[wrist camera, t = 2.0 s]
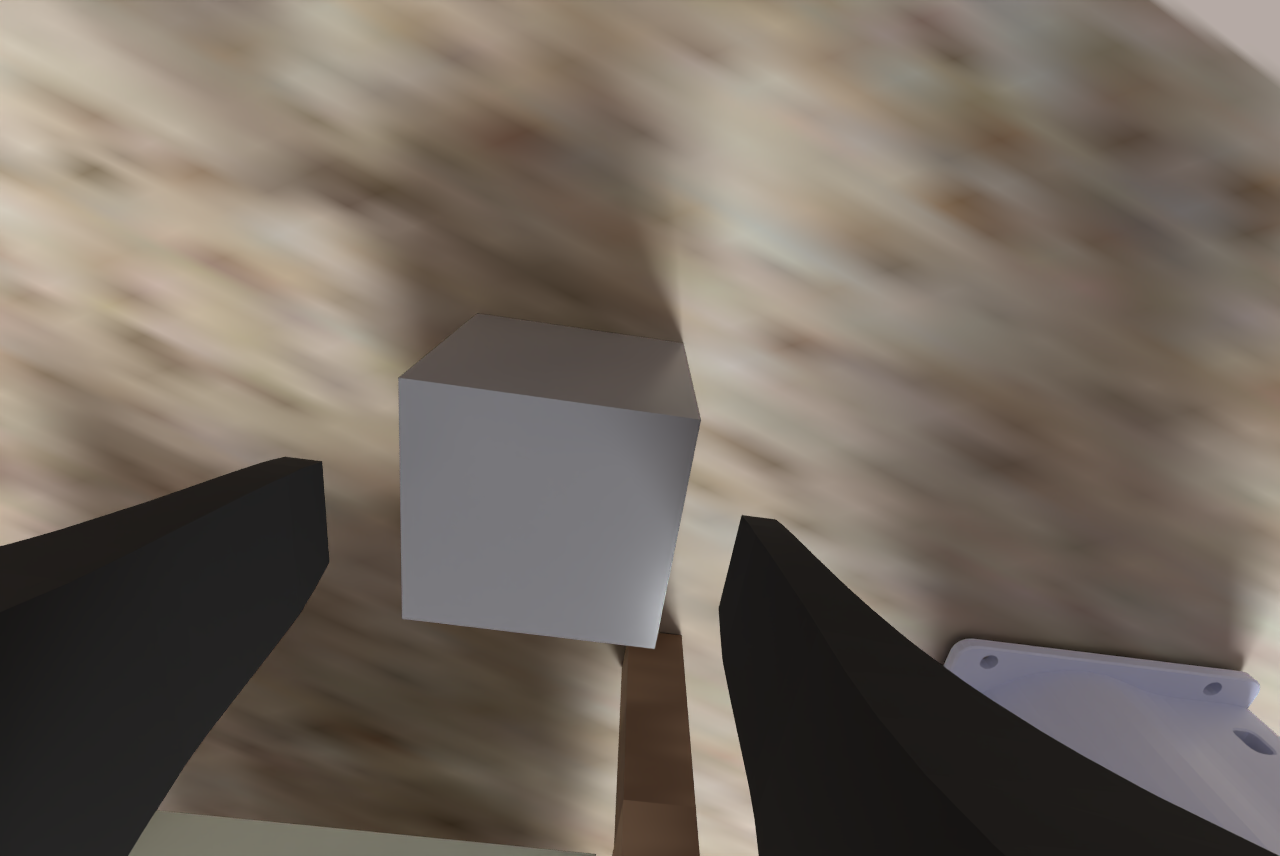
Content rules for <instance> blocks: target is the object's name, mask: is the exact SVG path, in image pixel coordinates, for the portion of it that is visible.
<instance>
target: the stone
mask: <svg viewBox="0 0 1280 856" xmlns="http://www.w3.org/2000/svg"><path fill="white" fill-rule="evenodd" d="M398 379H399V446H400V514H401V581H402V619H408V620H417V621H425V622H433V623H442V624H450V625H459V626H467V627H475V628H484V629H492V630H501V631H509V632H517V633H526V634H534V635H543V636H551V637H559V638H568V639H576V640H584V641H593V642H601V643H610V644H618V645H626V646H635V647H643V648H652V649H655V645H656V640H657V635H658V630H659V625H660V620H661V615H662V610H663V605H664V600H665V595H666V590H667V585H668V580H669V575H670V570H671V566H672V561H673V556H674V551H675V546H676V541H677V536H678V531H679V526H680V521H681V516H682V511H683V506H684V501H685V496H686V491H687V486H688V481H689V476H690V471H691V466H692V461H693V456H694V451H695V446H696V441H697V436H698V431H699V426H700V421H701V418H700V414H699V409H698V405H697V400H696V396H695V392H694V387H693V383H692V379H691V374H690V370H689V365H688V361H687V357H686V352H685V348H684V344H683V343H679V342H672V341H666V340H659V339H652V338H645V337H638V336H631V335H624V334H617V333H610V332H603V331H596V330H589V329H583V328H576V327H569V326H562V325H555V324H548V323H541V322H534V321H527V320H520V319H513V318H507V317H500V316H493V315H486V314H479V313H477V314H476V315H475V316H473V317H472V318H471V319H470V320H468V321H467V322H466V323H465V324H464V325H462V326H461V327H460V328H459V329H457V330H456V331H455V332H454V333H453V334H451V335H450V336H449V337H448V338H446V339H445V340H444V341H443V342H442V343H440V344H439V345H438V346H437V347H435V348H434V349H433V350H432V351H430V352H429V353H428V354H427V355H426V356H424V357H423V358H422V359H421V360H419V361H418V362H417V363H416V364H415V365H413V366H412V367H411V368H410V369H408V370H407V371H406V372H405V373H404V374H402V375H401V376H400V377H399V378H398Z"/></svg>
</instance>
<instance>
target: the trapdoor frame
mask: <svg viewBox="0 0 1280 856" xmlns="http://www.w3.org/2000/svg"><path fill="white" fill-rule="evenodd" d="M612 856H700V854H699V841H698V829H697V817H696V805H695V793H694V781H693V769H692V757H691V744H690V732H689V720H688V708H687V696H686V684H685V672H684V660H683V647H682V635H674V634H665V633H658V635H657V640H656V645H655V649H652V648H643V647H635V646H626V649H625V655H624V661H623V666H622V680H621V702H620V725H619V747H618V770H617V793H616V815H615V838H614V850H613V855H612Z"/></svg>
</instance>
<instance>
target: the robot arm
mask: <svg viewBox="0 0 1280 856" xmlns="http://www.w3.org/2000/svg"><path fill="white" fill-rule="evenodd" d="M328 564H329V551H328V537H327V523H326V509H325V495H324V481H323V467H322V461H314V460H306V459H298V458H290V457H282V458H278V459H274V460H270V461H266V462H263V463H259V464H256V465H253V466H250V467H247V468H244V469H241V470H238V471H235V472H232V473H229V474H226V475H223V476H220V477H217V478H215V479H212V480H209V481H206V482H203V483H200V484H197V485H194V486H192V487H189V488H186V489H183V490H180V491H177V492H174V493H171V494H169V495H166V496H163V497H160V498H157V499H154V500H151V501H148V502H145V503H142V504H139V505H136V506H133V507H130V508H127V509H124V510H120V511H117V512H114V513H111V514H108V515H105V516H102V517H99V518H95V519H92V520H89V521H86V522H83V523H80V524H77V525H74V526H70V527H67V528H64V529H61V530H57V531H54V532H51V533H47V534H44V535H40V536H37V537H33V538H30V539H26V540H22V541H19V542H15V543H12V544H8V545H4V546H0V856H128V855H129V854H130V852H131V850H132V849H133V847H134V845H135V844H136V842H137V841H138V839H139V837H140V836H141V834H142V832H143V831H144V829H145V828H146V826H147V824H148V823H149V821H150V820H151V818H152V817H153V815H154V813H155V812H156V810H157V809H158V807H159V806H160V804H161V802H162V801H163V799H164V798H165V796H166V795H167V793H168V791H169V790H170V788H171V787H172V785H173V783H174V782H175V780H176V779H177V777H178V776H179V774H180V772H181V771H182V769H183V768H184V766H185V765H186V763H187V762H188V760H189V759H190V758H191V756H192V755H193V753H194V752H195V751H196V749H197V748H198V746H199V745H200V744H201V742H202V741H203V739H204V738H205V737H206V735H207V734H208V733H209V731H210V730H211V729H212V727H213V726H214V725H215V724H216V722H217V721H218V720H219V718H220V717H221V716H222V715H223V713H224V712H225V711H226V709H227V708H228V707H229V705H230V704H231V703H232V702H233V700H234V699H235V698H236V696H237V695H238V694H239V693H240V691H241V690H242V689H243V687H244V686H245V685H246V684H247V682H248V681H249V680H250V678H251V677H252V676H253V675H254V673H255V672H256V671H257V669H258V668H259V667H260V666H261V664H262V663H263V662H264V660H265V659H266V658H267V657H268V655H269V654H270V653H271V651H272V650H273V649H274V647H275V646H276V645H277V643H278V642H279V641H280V640H281V638H282V637H283V636H284V634H285V633H286V632H287V630H288V629H289V628H290V626H291V625H292V624H293V622H294V621H295V620H296V618H297V617H298V616H299V614H300V613H301V611H302V610H303V608H304V606H305V604H306V603H307V601H308V599H309V598H310V596H311V594H312V593H313V591H314V589H315V587H316V586H317V584H318V582H319V580H320V578H321V576H322V575H323V573H324V571H325V569H326V567H327V565H328ZM719 620H720V635H721V647H722V658H723V665H724V670H725V675H726V680H727V685H728V690H729V695H730V699H731V704H732V709H733V714H734V718H735V723H736V728H737V733H738V737H739V742H740V747H741V751H742V756H743V761H744V765H745V770H746V775H747V780H748V784H749V789H750V795H751V801H752V807H753V813H754V818H755V826H756V835H757V844H758V853H759V856H1280V737H1279V736H1278V735H1277V734H1276V733H1275V732H1274V731H1272V730H1271V729H1270V728H1269V727H1268V726H1267V725H1266V724H1264V723H1263V722H1262V721H1261V720H1260V719H1259V718H1258V717H1257V716H1255V715H1254V714H1253V713H1252V712H1251V711H1250V710H1249V709H1247V708H1248V707H1249V706H1250V704H1251V703H1252V702H1253V700H1254V699H1255V698H1256V696H1257V695H1258V693H1259V691H1260V684H1259V683H1258V682H1257V681H1256V680H1255V679H1254V678H1253V677H1251V676H1250V675H1249V674H1248V673H1245V672H1242V671H1235V670H1226V669H1218V668H1210V667H1202V666H1194V665H1185V664H1177V663H1169V662H1161V661H1153V660H1145V659H1136V658H1128V657H1120V656H1112V655H1104V654H1095V653H1087V652H1079V651H1071V650H1063V649H1055V648H1046V647H1038V646H1030V645H1022V644H1014V643H1005V642H997V641H989V640H981V639H964V640H961V641H959V642H957V643H956V644H954V646H953V647H952V649H951V650H950V652H949V655H948V657H947V659H946V661H945V664H944V666H943V665H941V664H940V663H939V662H937V661H936V660H934V659H933V658H932V657H930V656H929V655H928V654H926V653H925V652H924V651H922V650H921V649H920V648H918V647H917V646H916V645H914V644H913V643H912V642H911V641H909V640H908V639H907V638H906V637H904V636H903V635H902V634H901V633H899V632H898V631H897V630H896V629H895V628H894V627H892V626H891V625H890V624H889V623H888V622H886V621H885V620H884V619H883V618H882V617H881V616H879V615H878V614H877V613H876V612H875V611H873V610H872V609H871V608H870V607H869V606H868V605H867V604H865V603H864V602H863V601H862V600H861V599H860V598H859V597H858V596H857V595H855V594H854V593H853V592H852V591H851V590H850V589H849V588H848V587H847V586H846V585H845V584H844V583H842V582H841V581H840V580H839V579H838V578H837V577H836V576H835V575H834V574H833V573H832V572H831V571H830V570H829V569H828V568H827V567H826V566H825V565H824V564H823V563H822V562H820V561H819V560H818V559H817V558H816V557H815V556H814V555H813V554H812V553H811V552H810V551H809V550H808V549H807V548H806V547H805V546H804V545H803V544H802V543H801V542H800V541H799V540H798V539H797V538H796V537H795V536H794V535H793V534H792V533H791V532H790V531H789V530H787V529H786V528H785V527H784V526H783V525H782V524H781V523H780V522H778V521H777V520H775V519H767V518H760V517H752V516H744V515H742V516H741V520H740V524H739V528H738V533H737V537H736V541H735V545H734V549H733V553H732V557H731V561H730V565H729V569H728V573H727V577H726V581H725V585H724V589H723V593H722V597H721V601H720V605H719ZM986 656H988V657H986ZM984 657H986V658H984ZM983 658H984V659H983Z"/></svg>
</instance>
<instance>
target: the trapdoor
mask: <svg viewBox="0 0 1280 856" xmlns="http://www.w3.org/2000/svg"><path fill="white" fill-rule="evenodd" d="M128 856H596V854H591V853H581V852H570V851H560V850H550V849H540V848H530V847H520V846H510V845H500V844H490V843H480V842H470V841H460V840H450V839H440V838H430V837H420V836H410V835H400V834H390V833H380V832H369V831H359V830H349V829H339V828H329V827H319V826H309V825H299V824H289V823H279V822H269V821H259V820H249V819H239V818H229V817H219V816H209V815H199V814H189V813H179V812H168V811H158V810H156V812H155V813H154V815H153V817H152V818H151V820H150V821H149V823H148V824H147V826H146V828H145V829H144V831H143V832H142V834H141V836H140V837H139V839H138V841H137V842H136V844H135V845H134V847H133V849H132V850H131V852H130V854H129V855H128Z"/></svg>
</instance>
